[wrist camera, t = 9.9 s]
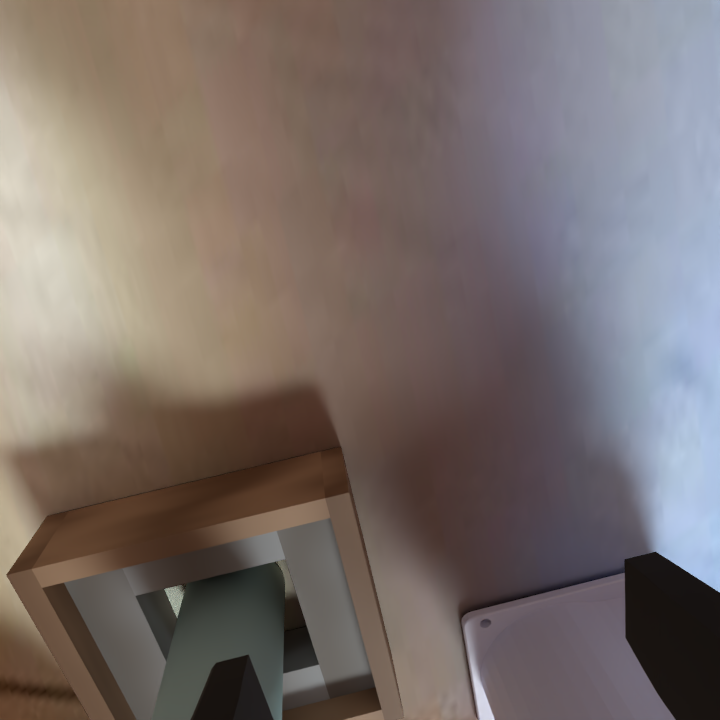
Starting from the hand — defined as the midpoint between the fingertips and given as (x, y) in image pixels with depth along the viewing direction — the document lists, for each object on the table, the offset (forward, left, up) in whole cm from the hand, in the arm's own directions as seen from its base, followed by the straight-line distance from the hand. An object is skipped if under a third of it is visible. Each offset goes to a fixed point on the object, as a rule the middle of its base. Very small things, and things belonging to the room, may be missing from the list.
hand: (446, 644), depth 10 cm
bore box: (+7, +7, -10) cm, 14 cm away
